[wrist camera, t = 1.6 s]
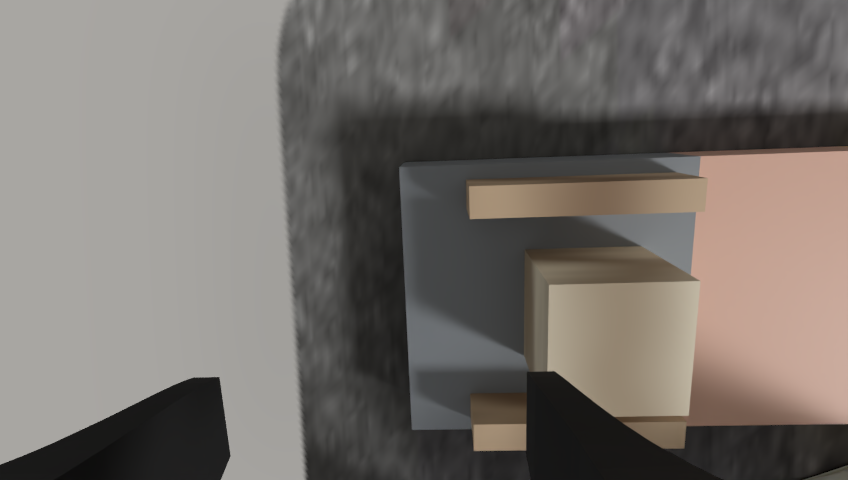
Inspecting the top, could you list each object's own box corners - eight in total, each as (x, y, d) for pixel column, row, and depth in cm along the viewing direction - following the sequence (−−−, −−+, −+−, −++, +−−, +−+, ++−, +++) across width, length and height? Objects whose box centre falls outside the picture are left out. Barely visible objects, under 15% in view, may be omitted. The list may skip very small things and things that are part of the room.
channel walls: (470, 417, 19) (473, 451, 17) (465, 179, 17) (469, 186, 15) (658, 414, 18) (684, 448, 16) (676, 172, 16) (707, 178, 15)
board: (415, 395, 21) (411, 430, 19) (404, 162, 19) (398, 167, 17) (958, 386, 20) (1028, 421, 18) (1012, 139, 18) (1100, 141, 16)
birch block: (523, 355, 18) (546, 417, 14) (524, 249, 17) (549, 284, 13) (635, 353, 18) (688, 415, 14) (641, 246, 17) (700, 281, 13)
